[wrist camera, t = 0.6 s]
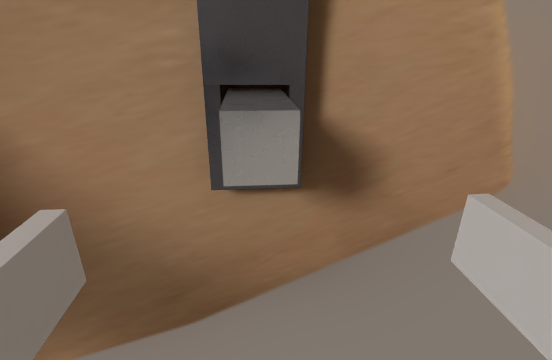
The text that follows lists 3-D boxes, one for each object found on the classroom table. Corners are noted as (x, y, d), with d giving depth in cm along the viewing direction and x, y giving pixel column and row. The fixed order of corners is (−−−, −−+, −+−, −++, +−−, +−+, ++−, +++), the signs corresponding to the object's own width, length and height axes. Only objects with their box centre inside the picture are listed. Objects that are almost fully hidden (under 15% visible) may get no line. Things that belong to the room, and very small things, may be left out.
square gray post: (230, 139, 32) (223, 186, 21) (228, 88, 30) (219, 111, 19) (279, 138, 32) (297, 184, 21) (279, 88, 30) (300, 110, 19)
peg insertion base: (213, 180, 33) (211, 190, 31) (187, -176, 23) (180, -203, 20) (296, 178, 34) (301, 188, 32) (309, -166, 23) (317, -192, 21)
